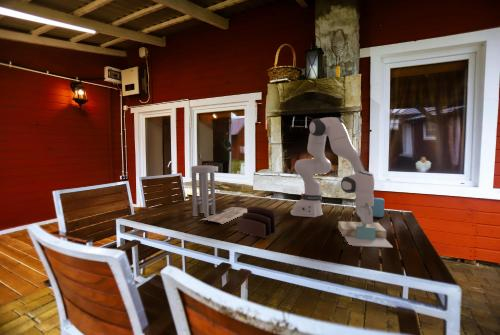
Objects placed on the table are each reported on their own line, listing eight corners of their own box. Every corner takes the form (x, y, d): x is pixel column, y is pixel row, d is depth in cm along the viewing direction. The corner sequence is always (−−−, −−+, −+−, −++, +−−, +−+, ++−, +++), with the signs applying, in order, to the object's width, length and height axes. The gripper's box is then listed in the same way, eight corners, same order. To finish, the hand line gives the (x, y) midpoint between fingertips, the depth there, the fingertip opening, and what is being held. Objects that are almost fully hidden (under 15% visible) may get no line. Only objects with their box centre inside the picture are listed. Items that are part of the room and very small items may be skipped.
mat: (349, 245, 131) (349, 244, 131) (344, 237, 143) (344, 236, 143) (392, 247, 128) (392, 246, 128) (384, 238, 140) (384, 238, 140)
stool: (188, 217, 184) (186, 167, 180) (200, 212, 198) (199, 165, 195) (208, 219, 178) (207, 167, 175) (219, 213, 193) (218, 165, 189)
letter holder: (248, 227, 162) (247, 204, 160) (275, 234, 149) (275, 209, 148) (237, 232, 154) (236, 208, 153) (265, 239, 142) (264, 213, 140)
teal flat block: (355, 237, 141) (356, 238, 139) (356, 226, 140) (357, 227, 139) (374, 238, 140) (375, 239, 138) (374, 227, 139) (375, 228, 137)
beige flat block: (342, 236, 144) (342, 229, 144) (338, 227, 158) (338, 221, 158) (386, 238, 140) (386, 230, 140) (378, 229, 154) (378, 222, 154)
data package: (383, 215, 182) (384, 198, 181) (383, 217, 178) (384, 199, 177) (364, 213, 187) (365, 196, 186) (364, 215, 183) (364, 198, 182)
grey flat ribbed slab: (230, 209, 206) (230, 206, 206) (252, 212, 196) (252, 209, 196) (199, 222, 174) (199, 218, 173) (224, 227, 164) (224, 222, 164)
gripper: (376, 206, 131) (375, 234, 132) (365, 197, 151) (365, 221, 152) (363, 206, 132) (362, 233, 133) (354, 197, 152) (353, 221, 153)
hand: (363, 227), depth 143 cm, fingers closed
